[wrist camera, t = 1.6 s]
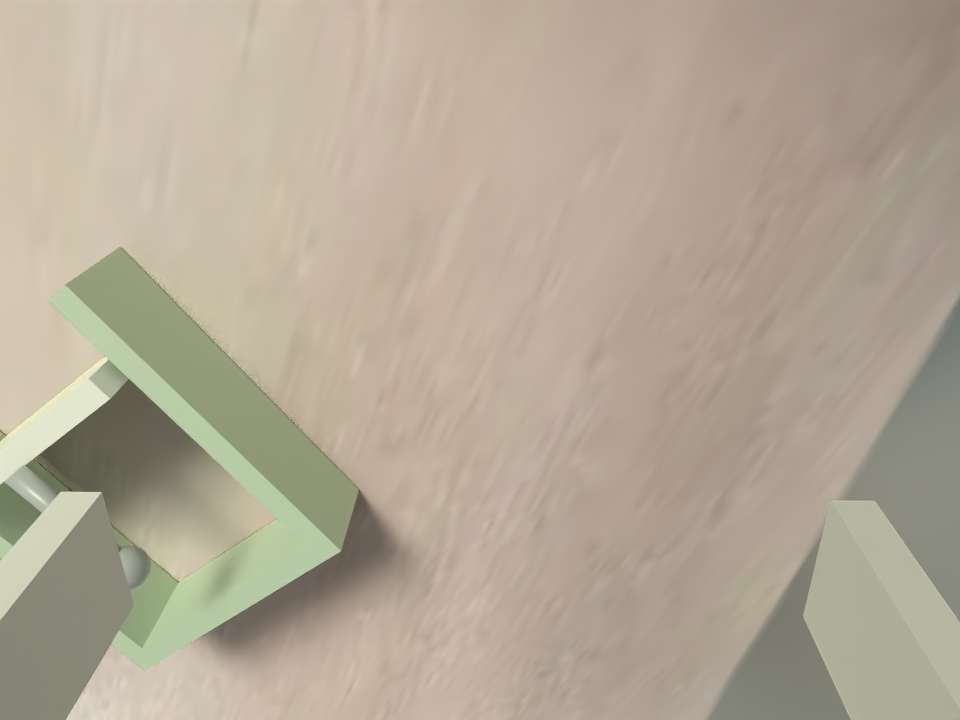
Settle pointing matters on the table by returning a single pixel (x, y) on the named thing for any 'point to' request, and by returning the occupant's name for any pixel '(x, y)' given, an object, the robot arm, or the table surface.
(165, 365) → the pale green open box
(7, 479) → the pusher
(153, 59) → the table surface
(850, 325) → the table surface
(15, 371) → the table surface
